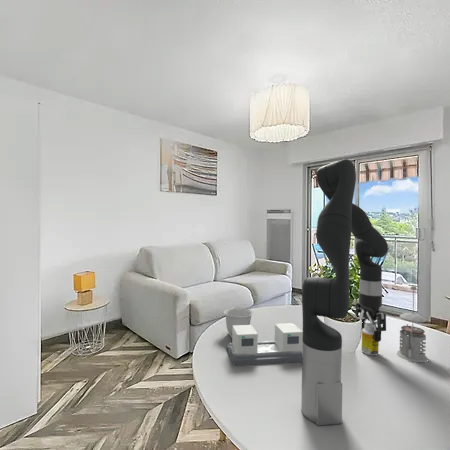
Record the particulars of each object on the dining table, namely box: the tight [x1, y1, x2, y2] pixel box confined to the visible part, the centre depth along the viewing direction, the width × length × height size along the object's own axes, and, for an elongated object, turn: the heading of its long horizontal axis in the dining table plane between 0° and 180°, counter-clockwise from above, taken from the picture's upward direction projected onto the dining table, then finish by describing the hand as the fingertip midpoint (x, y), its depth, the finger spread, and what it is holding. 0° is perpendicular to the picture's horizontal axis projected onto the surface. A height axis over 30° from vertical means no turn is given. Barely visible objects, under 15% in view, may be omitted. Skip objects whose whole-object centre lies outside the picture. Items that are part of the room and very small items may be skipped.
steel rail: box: [228, 340, 302, 358], centre depth 106 cm, size 25×9×1 cm, turn 99°
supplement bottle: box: [361, 322, 380, 356], centre depth 109 cm, size 6×6×10 cm
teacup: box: [223, 306, 254, 338], centre depth 124 cm, size 12×15×10 cm
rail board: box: [226, 344, 302, 366], centre depth 106 cm, size 26×13×2 cm, turn 99°
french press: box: [396, 285, 429, 363], centre depth 105 cm, size 10×12×25 cm
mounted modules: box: [231, 322, 303, 354], centre depth 106 cm, size 23×9×7 cm, turn 99°
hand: (369, 336), depth 109 cm, fingers open, 8 cm apart
